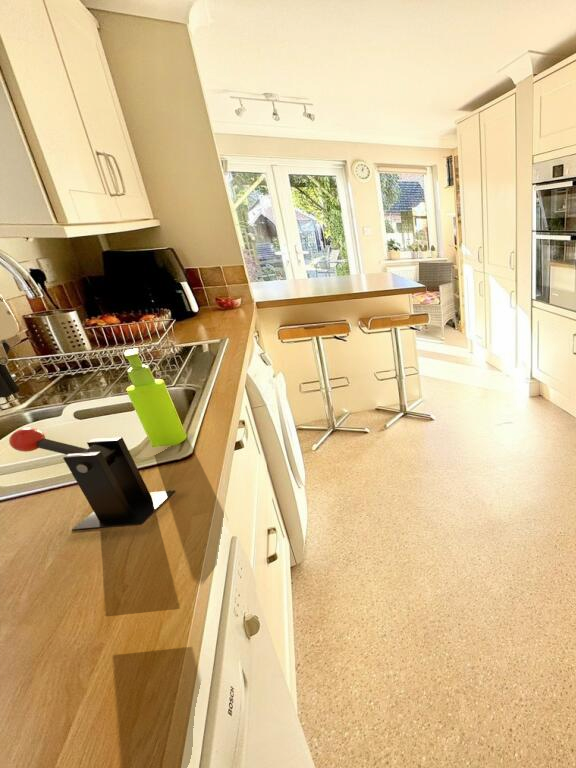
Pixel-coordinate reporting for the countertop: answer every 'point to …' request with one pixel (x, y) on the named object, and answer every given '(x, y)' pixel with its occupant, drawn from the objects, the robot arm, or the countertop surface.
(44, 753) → the countertop surface
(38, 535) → the countertop surface
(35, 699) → the countertop surface
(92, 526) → the bracket
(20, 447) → the lever
